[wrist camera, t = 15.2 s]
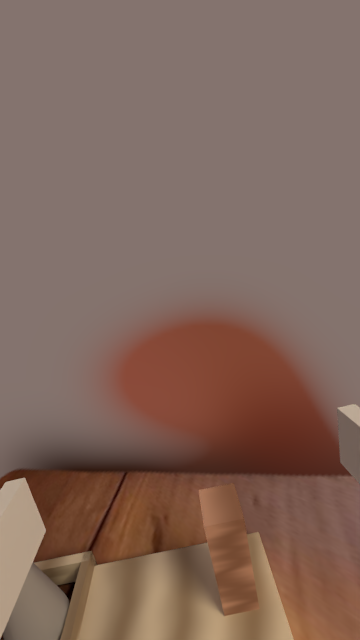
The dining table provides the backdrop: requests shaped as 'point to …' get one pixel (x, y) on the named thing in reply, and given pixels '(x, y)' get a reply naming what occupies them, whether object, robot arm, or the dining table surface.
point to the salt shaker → (38, 609)
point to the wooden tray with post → (178, 586)
